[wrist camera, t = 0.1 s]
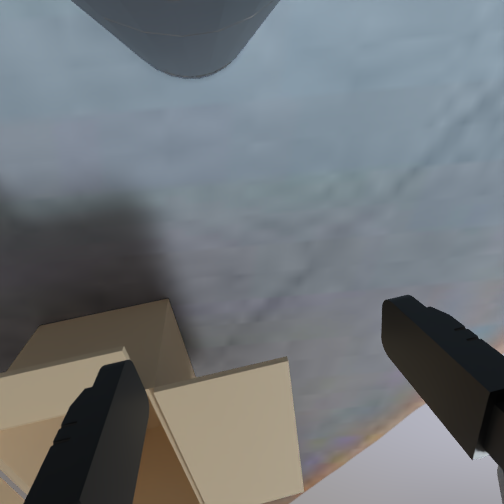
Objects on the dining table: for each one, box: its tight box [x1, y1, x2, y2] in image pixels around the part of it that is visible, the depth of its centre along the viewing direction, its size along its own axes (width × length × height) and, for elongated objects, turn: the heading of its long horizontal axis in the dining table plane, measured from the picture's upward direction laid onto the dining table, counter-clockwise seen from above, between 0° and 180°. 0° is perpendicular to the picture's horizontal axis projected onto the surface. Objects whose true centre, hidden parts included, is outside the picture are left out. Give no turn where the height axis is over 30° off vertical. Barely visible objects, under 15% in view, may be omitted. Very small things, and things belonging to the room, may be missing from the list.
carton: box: [0, 299, 304, 504], centre depth 27 cm, size 26×21×10 cm
